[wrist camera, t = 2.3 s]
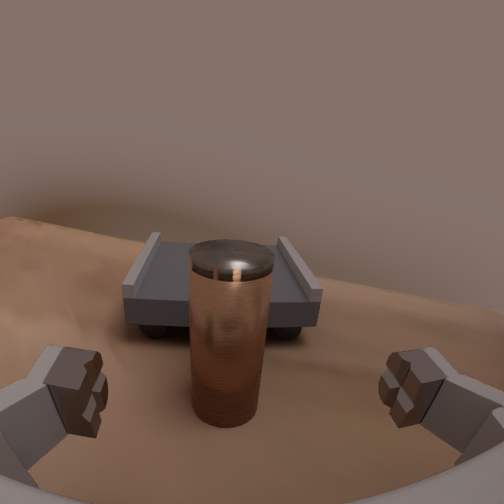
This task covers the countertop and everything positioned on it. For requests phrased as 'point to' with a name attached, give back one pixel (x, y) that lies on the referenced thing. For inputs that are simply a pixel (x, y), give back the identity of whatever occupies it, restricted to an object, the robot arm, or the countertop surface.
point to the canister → (228, 327)
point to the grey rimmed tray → (177, 289)
